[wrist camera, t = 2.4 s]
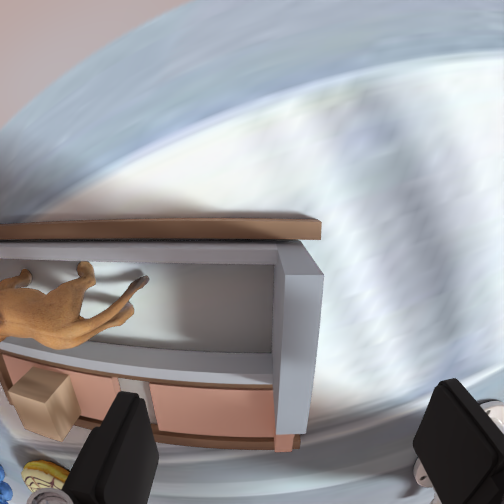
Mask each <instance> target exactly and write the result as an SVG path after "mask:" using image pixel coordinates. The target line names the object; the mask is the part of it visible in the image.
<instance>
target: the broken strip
mask: <svg viewBox="0 0 504 504" xmlns="http://www.w3.org/2000/svg"><path fill="white" fill-rule="evenodd" d="M2 356H3V359H4V361H5V364H6V367H7V370H8V373H9V375H10V378H11V381H12V383H13V385H14V384H15V383H16V382H17V381H18V380H19V379H20V378H21V377H22V376H24V375H25V374H26V373H27V372H28V371H29V370H30V369H31V368H32V367H37V368H41V369H45V370H50V371H54V372H58V373H63V374H67V375H69V376H70V379H71V382H72V386H73V389H74V392H75V395H76V398H77V401H78V403H79V406H80V409H81V412H82V413H81V416H85V417H89V418H93V419H98V420H104V418H105V416H106V414H107V412H108V410H109V408H110V407H111V405H112V403H113V401H114V399H115V397H116V395H117V394H118V392H120V391H121V389H120V385H119V381H118V377H111V376H105V375H99V374H93V373H88V372H82V371H77V370H72V369H67V368H62V367H57V366H53V365H48V364H44V363H40V362H36V361H32V360H28V359H24V358H20V357H16V356H13V355H9V354H6V353H3V354H2ZM149 386H150V391H151V396H152V401H153V406H154V411H155V415H156V420H157V424H158V428H159V430H160V431H168V432H177V433H186V434H197V435H211V436H229V437H274V448H275V452H292V446H293V438H294V436H295V434H282V435H276V428H275V413H274V398H273V388H227V387H206V386H191V385H178V384H167V383H157V382H150V383H149Z"/></svg>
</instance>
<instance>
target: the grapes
mask: <svg viewBox="0 0 504 504" xmlns="http://www.w3.org/2000/svg"><path fill="white" fill-rule="evenodd" d="M4 477H5V473H4V470H3V468H2V466H1V465H0V504H8V503H7V502H6V501H9V500H11V499H12V496H13V492H12V489H11V487H10V486H9V485H8V483H5V482H3V479H4Z"/></svg>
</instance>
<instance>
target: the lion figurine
mask: <svg viewBox="0 0 504 504" xmlns="http://www.w3.org/2000/svg"><path fill="white" fill-rule="evenodd" d="M77 272H78V275H79V276H80V278H78V279H74V280H71V281H68V282H66V283H63V284H61V285H60V286H58V288H56V289H54V290H52V291H51V292H49V293H48V294H47V295H45V294H44V293H42V292H41V291H39V290H36V289H30V288H21V287H27V286H28V285H29V284H30V283H31V281H32V275H31V273H30V272H29V271H28V270H27V269H22V271H21V273H20V276H15V277H12V278H7V279H4V280H2V281H1V282H0V342H1V341H3V340H4V339H5V338H6V337H10V336H13V337H18V338H33V339H35V340H36V341H38V342H39V343H41V344H42V345H44V346H46V347H49V348H52V349H56V350H62V349H69V348H73V347H76V346H79V345H80V344H82V343H84V342H86V341H87V340H89V339H90V338H91V337H93V336H94V335H96V334H98V333H99V332H101V331H103V330H105V329H107V328H110V327H114V326H120V325H122V324H123V323H125V321H126V320H127V319H128V318H130V317H131V316H132V315H133V314H134V308H133V305H132V304H131V303H129V302H128V301H129V299H130V298H131V297H132V295H133V294H134V293H135V292H136V291H137V290H139V289H141V288H143V287H144V285H146V284H147V283H148V281H149V278H148V276H143V277H140V278H138V279H137V280H135V281H133V282H132V283H131V284H130V286H129V287H128V289H127V290H126V291H125V292H124V294H123V295H122V296H121V297H120V298H119V299H118V300H117V301H116V302H115V303H113V304H112V305H111V306H110V307H109V308H107V309H106V310H104V311H103V312H101V313H100V314H98V315H96V316H94V317H92V318H90V319H84V318H83V317H81V316H80V310H81V306H82V302H83V298H84V294H85V291H86V290H87V289H88V288H89V287H92V286H94V285H95V284H96V279H95V275H94V269H93V267H92V265H91V264H90V263H89V262H87V261H81V262H80V263H79V264H78V266H77Z"/></svg>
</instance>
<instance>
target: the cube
mask: <svg viewBox="0 0 504 504" xmlns="http://www.w3.org/2000/svg"><path fill="white" fill-rule="evenodd" d="M8 393H9V395H10V398H11V400H12V402H13V404H14V407H15V409H16V411H17V413H18V415H19V417H20V420H21V422H22V424H23V426H24V428H25V429H26V430H29V431H32V432H34V433H37V434H40V435H42V436H45V437H48V438H51V439H54V440H57V441H60V442H63V440H64V439H65V437H66V436H67V434H68V433H69V431H70V430H71V428H72V427H73V425H74V424H75V422H76V421H77V419H78V418H79V416H80V415H81V413H82V412H81V409H80V406H79V403H78V401H77V398H76V395H75V392H74V389H73V386H72V382H71V379H70V376H69V375H67V374H63V373H58V372H54V371H50V370H45V369H41V368H37V367H32V368H31V369H30V370H29V371H28V372H27V373H26V374H25V375H24V376H22V377H21V378H20V379H19V380H18V381H17V382H16V383H15V384H14V385H13V386H12V387H11V388H10V389H9V390H8Z"/></svg>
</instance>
